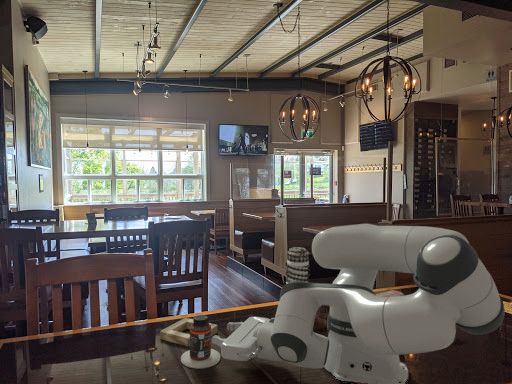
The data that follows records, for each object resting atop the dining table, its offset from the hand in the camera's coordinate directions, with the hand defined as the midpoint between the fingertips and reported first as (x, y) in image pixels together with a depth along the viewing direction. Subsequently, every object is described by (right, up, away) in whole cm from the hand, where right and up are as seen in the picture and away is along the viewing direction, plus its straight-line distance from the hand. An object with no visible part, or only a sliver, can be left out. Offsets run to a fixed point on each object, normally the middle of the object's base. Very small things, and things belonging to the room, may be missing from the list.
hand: (220, 332), depth 108 cm
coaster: (-6, -8, +2) cm, 10 cm away
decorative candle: (+25, -7, +37) cm, 45 cm away
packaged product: (+62, -7, +50) cm, 80 cm away
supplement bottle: (-6, -8, +2) cm, 10 cm away
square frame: (-12, -7, +17) cm, 22 cm away
